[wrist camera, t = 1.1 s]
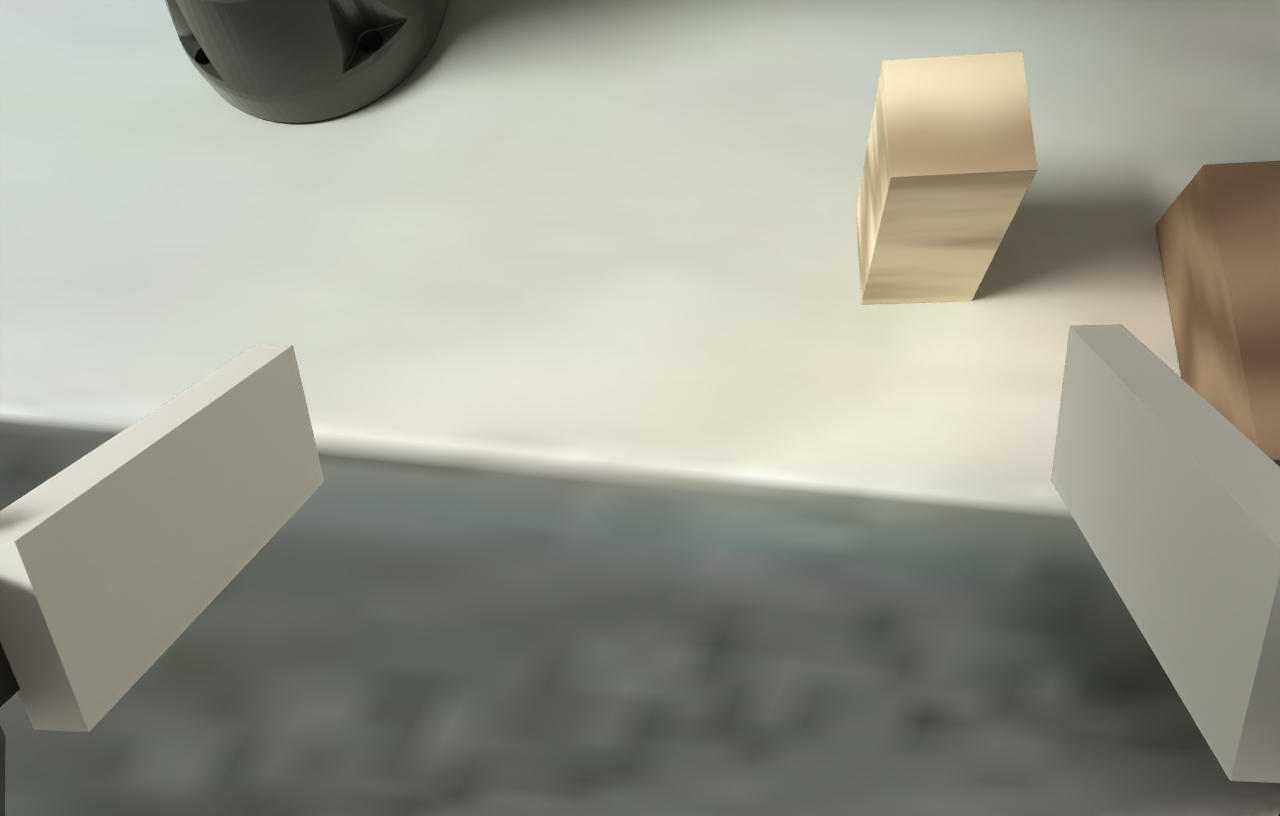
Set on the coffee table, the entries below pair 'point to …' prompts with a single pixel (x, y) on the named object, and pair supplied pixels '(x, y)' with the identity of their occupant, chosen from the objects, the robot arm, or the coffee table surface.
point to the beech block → (942, 175)
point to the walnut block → (1228, 292)
